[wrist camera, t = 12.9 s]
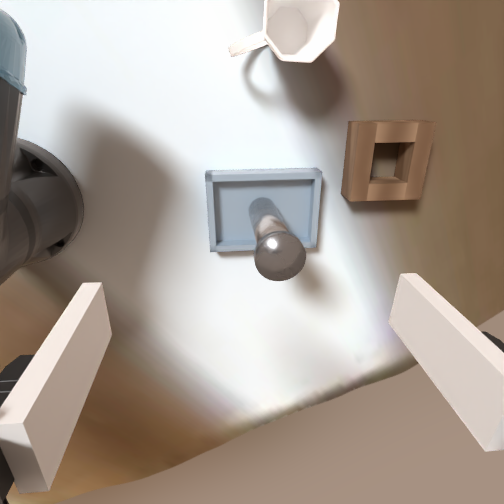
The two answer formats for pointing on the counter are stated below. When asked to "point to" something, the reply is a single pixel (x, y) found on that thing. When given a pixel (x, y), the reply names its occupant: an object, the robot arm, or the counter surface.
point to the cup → (294, 29)
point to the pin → (274, 243)
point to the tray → (255, 186)
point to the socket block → (407, 166)
